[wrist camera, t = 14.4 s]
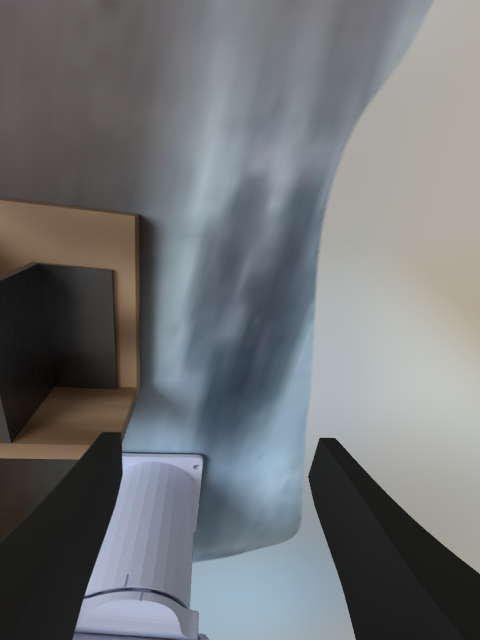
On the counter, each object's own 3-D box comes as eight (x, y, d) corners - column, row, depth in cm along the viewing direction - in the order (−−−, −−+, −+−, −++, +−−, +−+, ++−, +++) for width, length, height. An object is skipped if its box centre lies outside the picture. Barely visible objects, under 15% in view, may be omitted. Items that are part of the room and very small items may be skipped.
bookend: (118, 386, 20) (91, 445, 16) (50, 383, 20) (2, 443, 15) (113, 269, 17) (78, 299, 13) (32, 261, 17) (-35, 290, 12)
